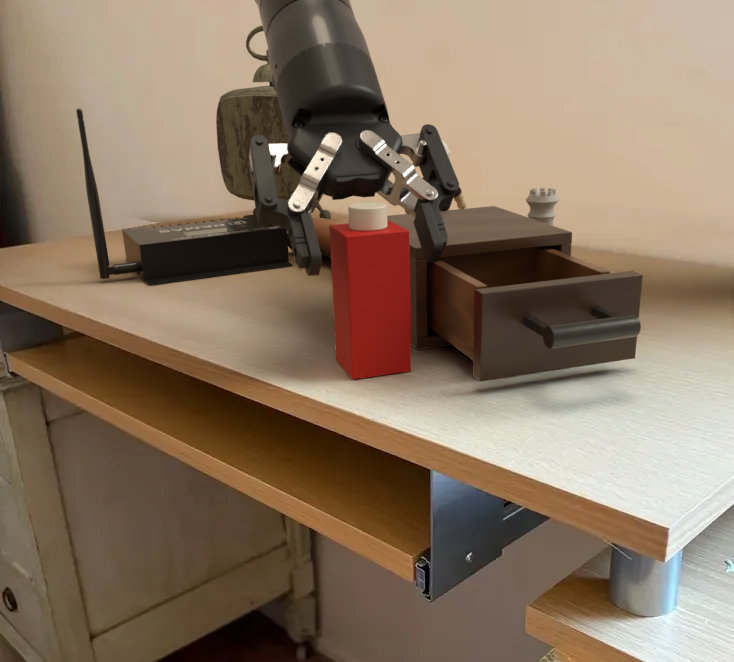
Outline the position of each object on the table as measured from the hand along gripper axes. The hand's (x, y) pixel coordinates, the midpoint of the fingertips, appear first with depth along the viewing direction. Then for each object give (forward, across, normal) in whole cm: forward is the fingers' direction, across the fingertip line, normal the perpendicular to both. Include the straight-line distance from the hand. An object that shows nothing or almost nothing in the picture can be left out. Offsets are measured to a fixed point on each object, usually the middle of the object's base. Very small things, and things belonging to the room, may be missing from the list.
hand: (376, 262), depth 56 cm
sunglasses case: (-19, +8, +30) cm, 36 cm away
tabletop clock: (-37, +5, +48) cm, 61 cm away
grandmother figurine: (-16, +16, +28) cm, 36 cm away
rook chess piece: (-10, +24, +22) cm, 34 cm away
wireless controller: (-23, -9, +34) cm, 43 cm away
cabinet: (-2, +10, +13) cm, 17 cm away
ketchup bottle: (+5, 0, +6) cm, 8 cm away
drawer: (+7, +10, +3) cm, 13 cm away
